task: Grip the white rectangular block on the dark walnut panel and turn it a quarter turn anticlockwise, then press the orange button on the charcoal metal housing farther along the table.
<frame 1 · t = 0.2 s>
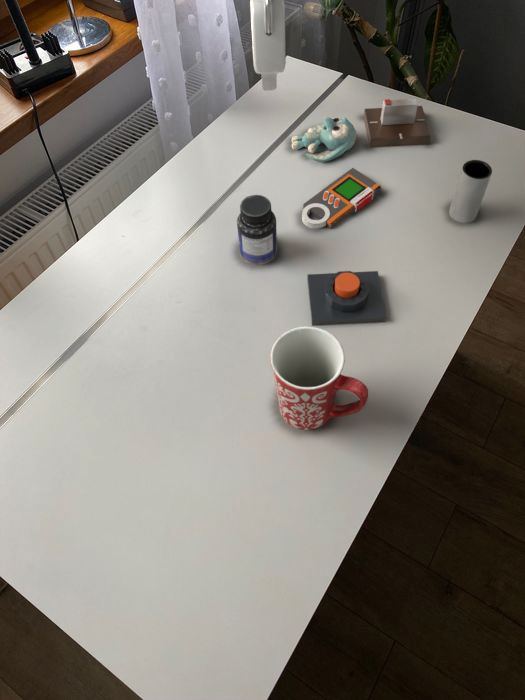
hand: (267, 65, 78), 29 cm above the table, tool pointing down, fingers open, 8 cm apart
button box: (344, 304, 93), on the table
knob panel: (394, 135, 115), on the table
pill bottle: (258, 256, 99), on the table
white rectangular block: (398, 111, 111), point 5 cm above the table, hinge at 0.0°
white cylindrical tube: (461, 218, 103), on the table
electronic device: (337, 209, 105), on the table
stuffed animal: (322, 150, 114), on the table
mug: (316, 415, 83), on the table
start button: (347, 285, 89), point 4 cm above the table, slide at 0.1 cm
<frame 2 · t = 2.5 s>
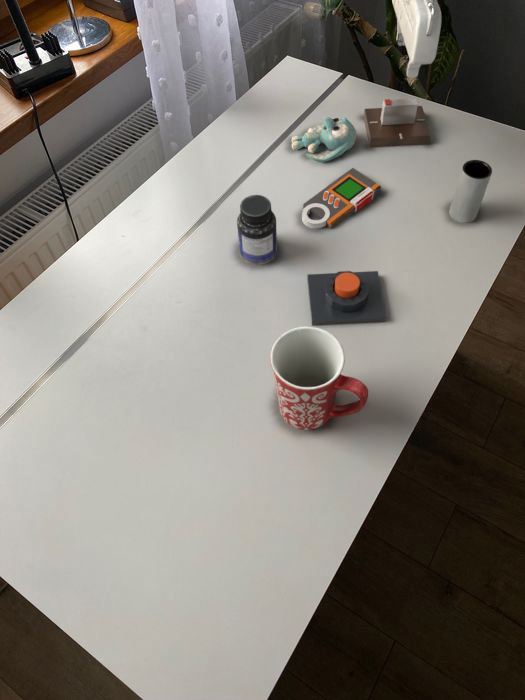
hand: (406, 59, 102), 15 cm above the table, tool pointing down, fingers open, 8 cm apart
nothing on the table moved.
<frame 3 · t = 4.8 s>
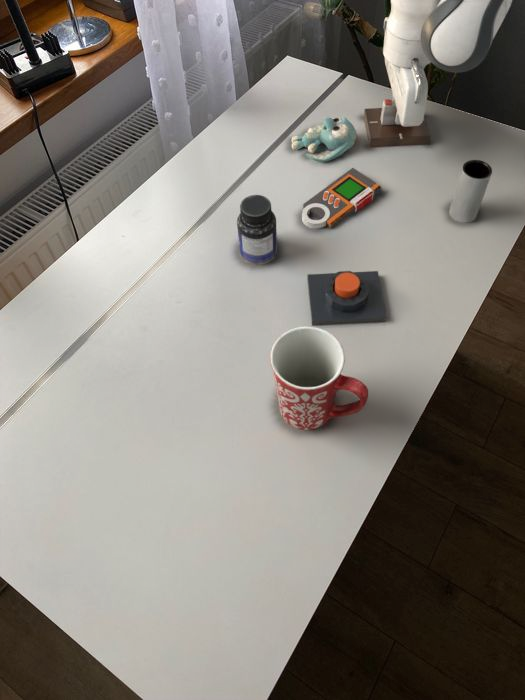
hand: (398, 116, 112), 4 cm above the table, tool pointing down, fingers closed on white rectangular block, 2 cm apart
white rectangular block: (398, 111, 111), point 5 cm above the table, hinge at 0.1°, touching gripper
everything else where it was.
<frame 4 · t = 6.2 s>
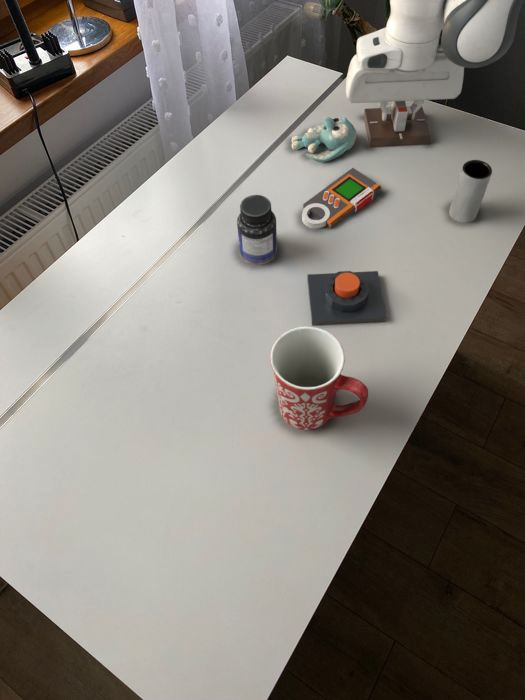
hand: (397, 118, 112), 4 cm above the table, tool pointing down, fingers open, 3 cm apart
white rectangular block: (398, 111, 111), point 5 cm above the table, hinge at 89.3°
everything else where it was.
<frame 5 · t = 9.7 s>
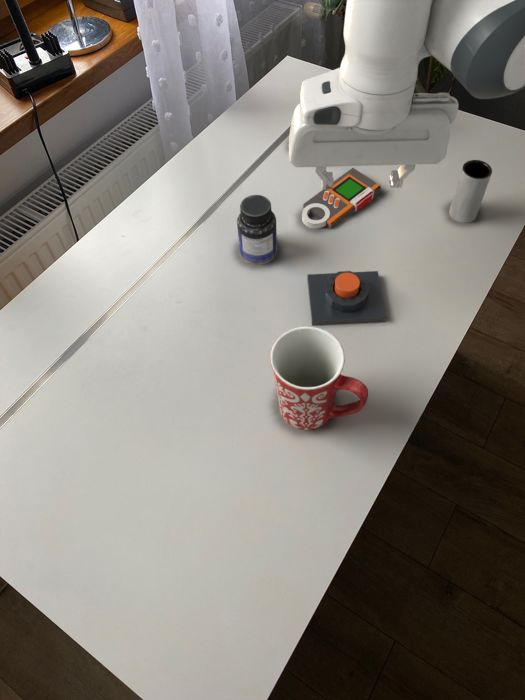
hand: (361, 185, 83), 17 cm above the table, tool pointing down, fingers open, 8 cm apart
nothing on the table moved.
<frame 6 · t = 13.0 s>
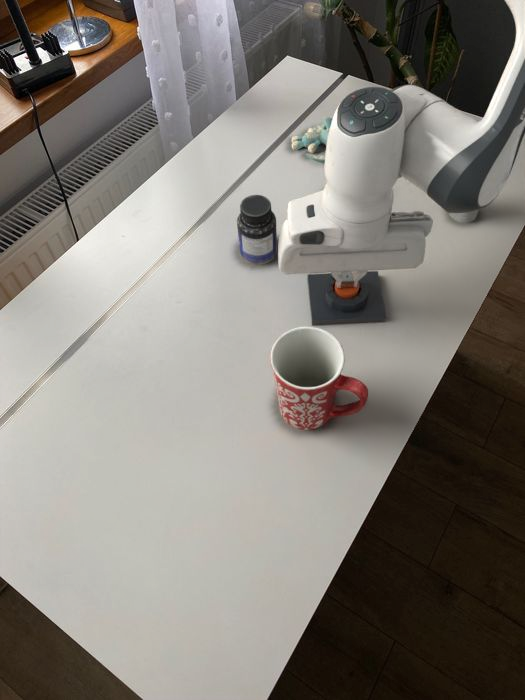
hand: (346, 284, 89), 5 cm above the table, tool pointing down, fingers closed, pressing on start button
start button: (346, 288, 90), point 4 cm above the table, slide at -0.6 cm, touching gripper
everything else where it was.
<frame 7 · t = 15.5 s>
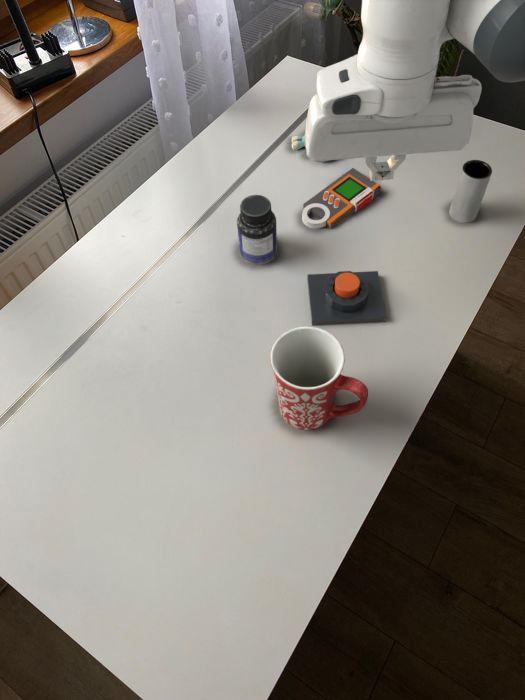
hand: (380, 177, 80), 19 cm above the table, tool pointing down, fingers closed
start button: (347, 285, 89), point 4 cm above the table, slide at 0.1 cm
everything else where it was.
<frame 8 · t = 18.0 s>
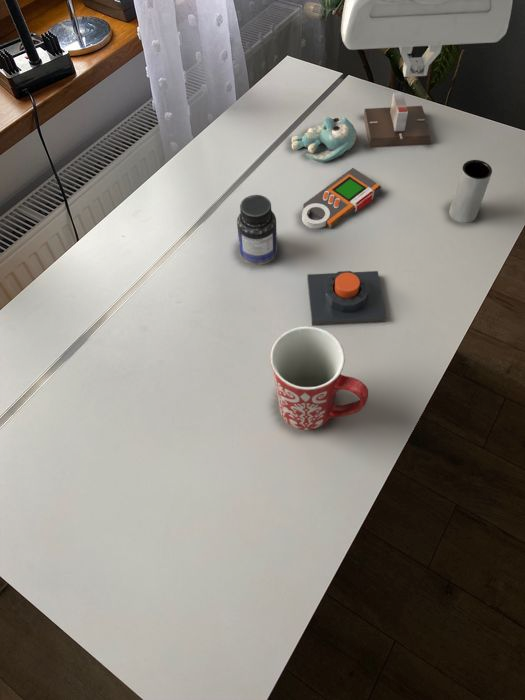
hand: (414, 74, 80), 27 cm above the table, tool pointing down, fingers closed
nothing on the table moved.
at the end: white rectangular block at +89° (first picture: +0°); start button pushed in 1.0 cm at the most during the clip, back to where it started at the end; start button slide at 0.1 cm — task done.
